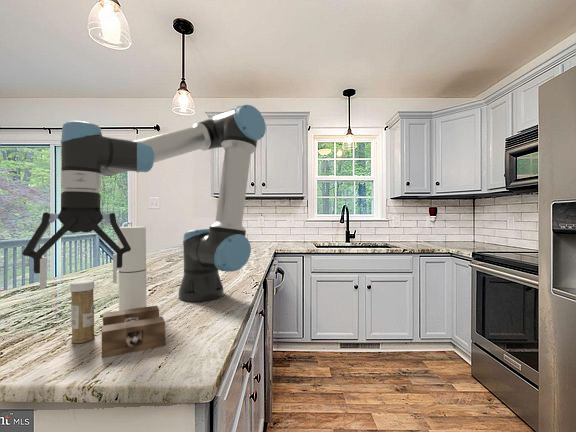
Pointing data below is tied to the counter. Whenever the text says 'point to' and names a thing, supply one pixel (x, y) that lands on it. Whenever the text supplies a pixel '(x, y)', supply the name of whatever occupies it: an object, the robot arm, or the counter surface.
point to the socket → (132, 330)
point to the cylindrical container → (133, 269)
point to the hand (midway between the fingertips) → (80, 285)
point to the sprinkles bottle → (82, 311)
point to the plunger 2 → (134, 336)
